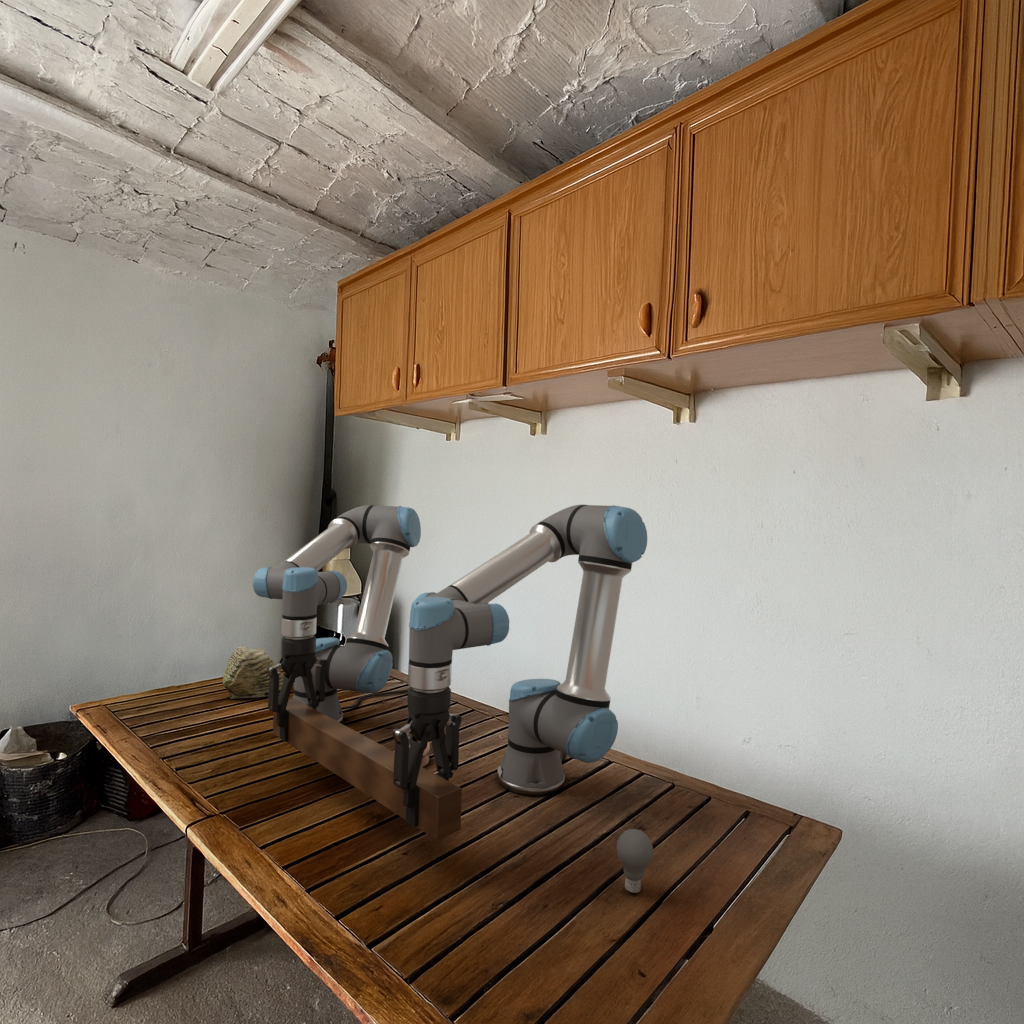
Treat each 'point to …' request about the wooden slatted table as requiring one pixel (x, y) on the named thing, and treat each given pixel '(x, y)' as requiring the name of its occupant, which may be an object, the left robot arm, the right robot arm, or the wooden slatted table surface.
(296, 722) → the bar
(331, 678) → the left robot arm
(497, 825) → the wooden slatted table surface
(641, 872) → the light bulb
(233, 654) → the fossil
